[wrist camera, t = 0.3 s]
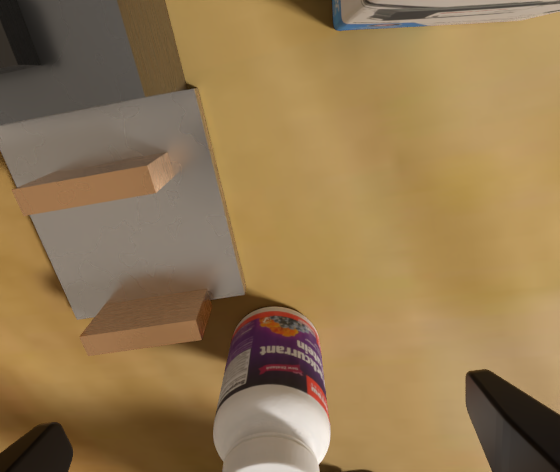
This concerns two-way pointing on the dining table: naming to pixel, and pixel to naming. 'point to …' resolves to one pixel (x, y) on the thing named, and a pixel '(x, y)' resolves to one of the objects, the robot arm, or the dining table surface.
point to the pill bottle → (273, 396)
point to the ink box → (434, 12)
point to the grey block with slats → (115, 168)
